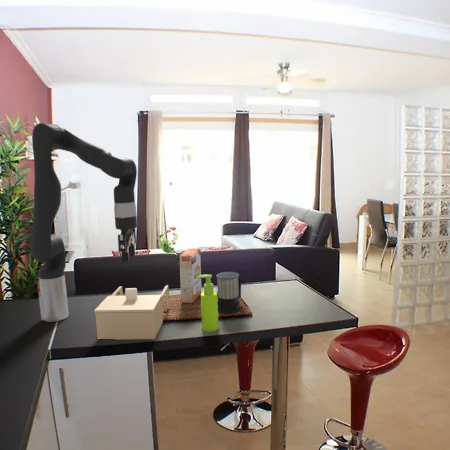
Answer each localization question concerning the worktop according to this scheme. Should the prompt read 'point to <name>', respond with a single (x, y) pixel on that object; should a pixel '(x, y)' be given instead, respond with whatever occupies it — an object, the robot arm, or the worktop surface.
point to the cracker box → (190, 275)
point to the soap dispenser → (209, 306)
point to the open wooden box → (131, 322)
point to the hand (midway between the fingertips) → (128, 259)
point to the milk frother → (228, 292)
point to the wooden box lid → (129, 302)
